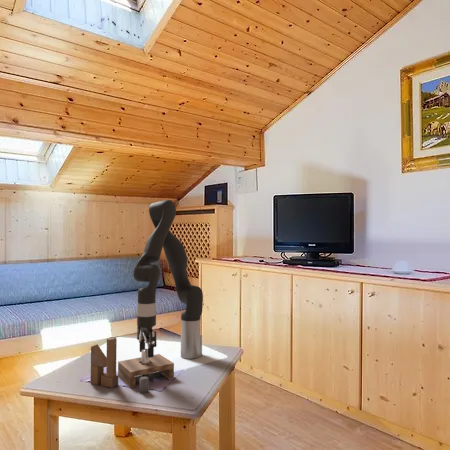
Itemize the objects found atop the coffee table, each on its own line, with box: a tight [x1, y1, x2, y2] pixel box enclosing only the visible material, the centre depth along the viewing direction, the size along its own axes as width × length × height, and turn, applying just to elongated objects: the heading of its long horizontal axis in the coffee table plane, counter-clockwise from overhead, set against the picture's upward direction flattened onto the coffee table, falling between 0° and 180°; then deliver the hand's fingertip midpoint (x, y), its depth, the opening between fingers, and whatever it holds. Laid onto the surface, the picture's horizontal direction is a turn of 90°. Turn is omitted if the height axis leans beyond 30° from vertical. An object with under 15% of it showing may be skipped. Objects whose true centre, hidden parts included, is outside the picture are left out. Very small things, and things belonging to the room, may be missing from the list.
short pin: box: [139, 377, 150, 395], centre depth 141 cm, size 3×3×5 cm
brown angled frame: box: [90, 336, 119, 389], centre depth 149 cm, size 4×11×18 cm, turn 65°
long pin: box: [140, 348, 151, 379], centre depth 156 cm, size 3×3×11 cm
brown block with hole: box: [117, 353, 175, 389], centre depth 156 cm, size 18×14×6 cm
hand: (146, 354), depth 156 cm, fingers open, 8 cm apart
